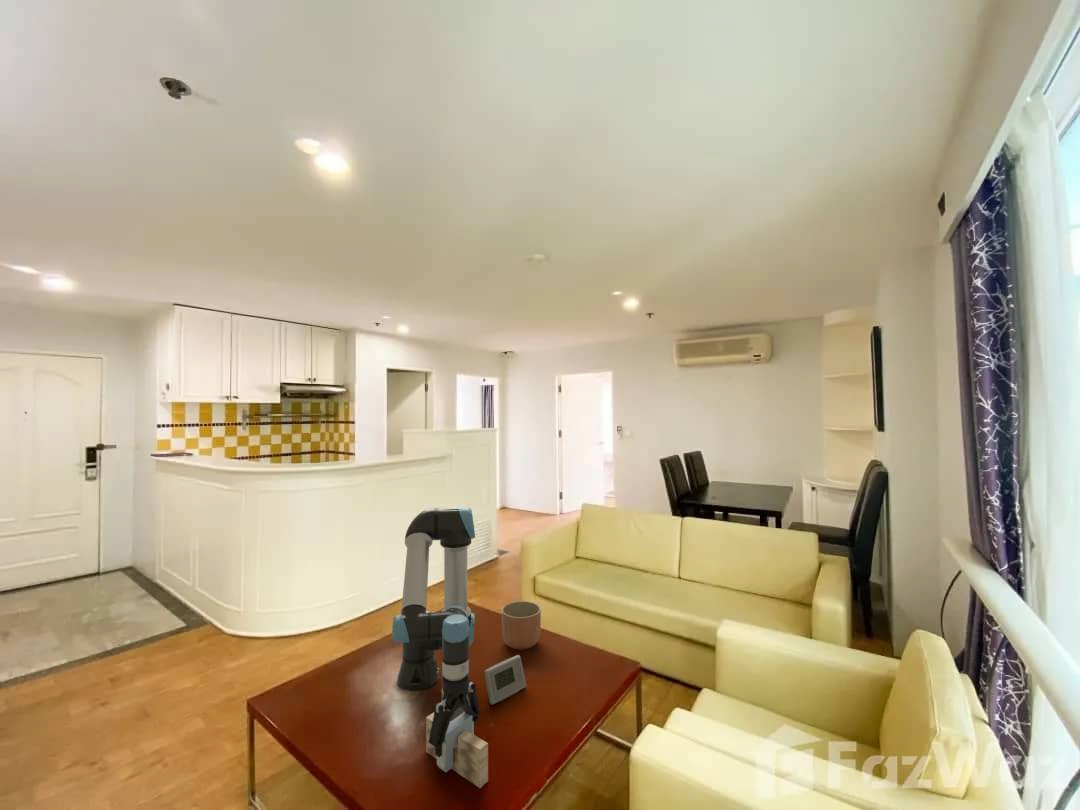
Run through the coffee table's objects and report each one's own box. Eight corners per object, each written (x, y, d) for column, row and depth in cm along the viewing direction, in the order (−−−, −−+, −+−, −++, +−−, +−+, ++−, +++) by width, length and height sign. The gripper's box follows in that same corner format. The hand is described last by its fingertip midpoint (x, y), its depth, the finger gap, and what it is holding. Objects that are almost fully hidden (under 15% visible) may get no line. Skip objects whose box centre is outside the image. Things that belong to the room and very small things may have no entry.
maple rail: (426, 751, 132) (426, 717, 133) (434, 745, 135) (434, 711, 135) (480, 788, 119) (480, 749, 120) (488, 780, 122) (487, 743, 122)
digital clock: (489, 708, 153) (489, 676, 153) (478, 694, 160) (478, 663, 161) (531, 692, 161) (531, 662, 161) (519, 680, 169) (519, 651, 169)
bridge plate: (438, 767, 124) (438, 730, 124) (465, 746, 132) (465, 711, 132) (446, 772, 122) (446, 734, 122) (472, 750, 130) (472, 715, 130)
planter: (540, 654, 187) (540, 617, 187) (499, 654, 187) (499, 617, 187) (541, 635, 204) (541, 600, 204) (503, 634, 204) (503, 600, 204)
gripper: (433, 698, 117) (433, 786, 116) (492, 660, 135) (492, 736, 134) (414, 688, 121) (414, 773, 120) (474, 653, 139) (474, 726, 138)
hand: (455, 754), depth 127 cm, fingers closed on bridge plate, 10 cm apart
